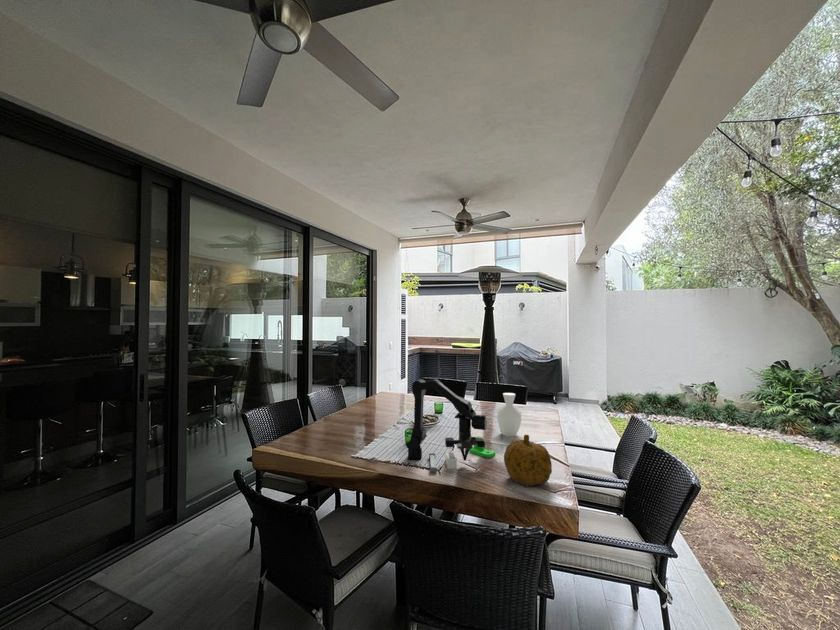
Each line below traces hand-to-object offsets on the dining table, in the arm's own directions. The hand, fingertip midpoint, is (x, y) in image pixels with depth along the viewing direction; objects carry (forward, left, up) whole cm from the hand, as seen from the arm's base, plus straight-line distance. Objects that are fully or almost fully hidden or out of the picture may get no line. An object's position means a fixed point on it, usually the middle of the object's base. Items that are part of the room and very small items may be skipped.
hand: (464, 460), depth 170 cm
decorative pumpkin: (+26, -16, -3) cm, 30 cm away
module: (-6, 0, -3) cm, 7 cm away
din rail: (-15, -1, -3) cm, 16 cm away
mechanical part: (+11, +15, -3) cm, 19 cm away
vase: (+34, +48, -3) cm, 59 cm away
